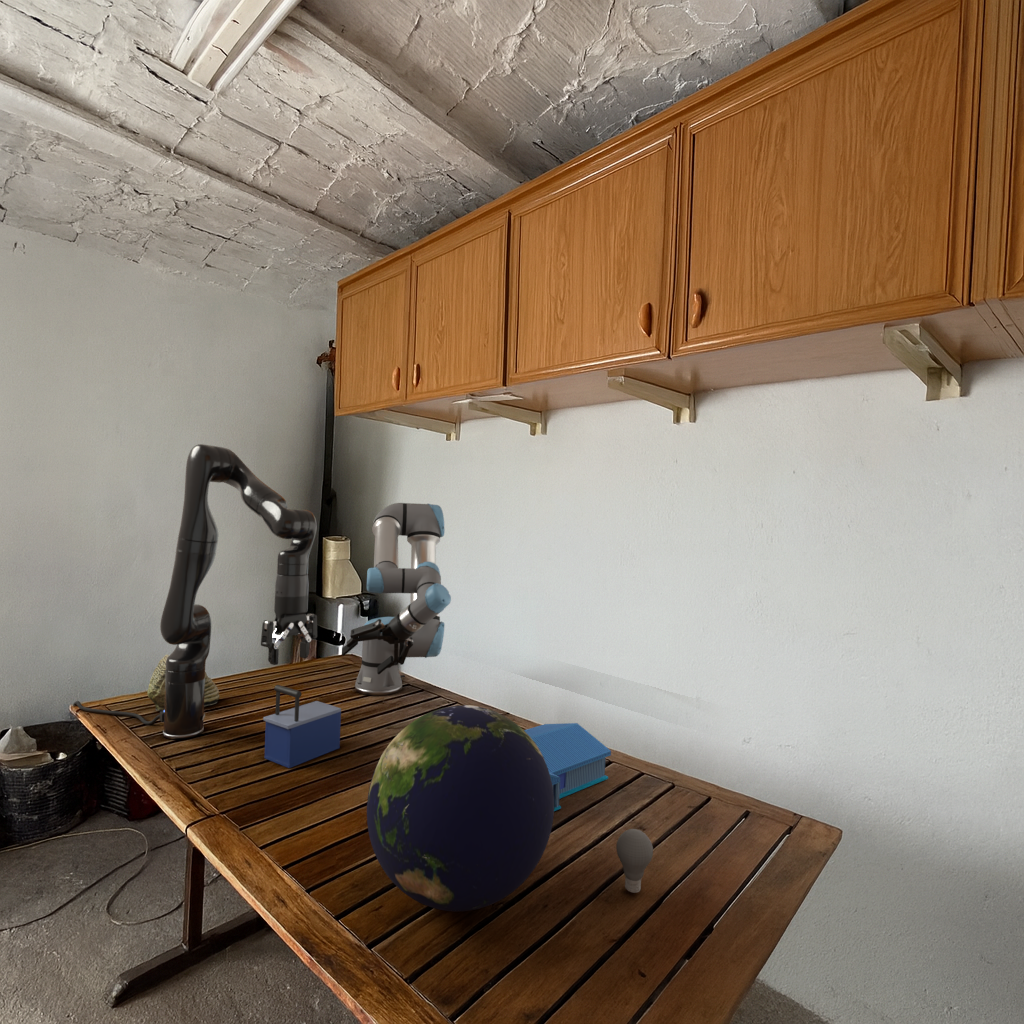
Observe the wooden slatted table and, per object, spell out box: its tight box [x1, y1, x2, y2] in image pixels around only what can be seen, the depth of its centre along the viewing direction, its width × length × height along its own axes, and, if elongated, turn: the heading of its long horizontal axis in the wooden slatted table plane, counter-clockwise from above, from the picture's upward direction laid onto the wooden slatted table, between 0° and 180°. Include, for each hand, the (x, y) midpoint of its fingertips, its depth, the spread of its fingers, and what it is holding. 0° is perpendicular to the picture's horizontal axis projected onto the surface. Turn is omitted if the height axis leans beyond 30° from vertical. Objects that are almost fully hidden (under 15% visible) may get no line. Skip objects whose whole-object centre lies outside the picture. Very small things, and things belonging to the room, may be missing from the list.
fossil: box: [147, 654, 221, 712], centre depth 185 cm, size 9×18×15 cm, turn 132°
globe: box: [366, 704, 555, 913], centre depth 102 cm, size 30×30×30 cm
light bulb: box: [615, 828, 654, 894], centre depth 106 cm, size 6×6×10 cm
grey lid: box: [262, 684, 342, 729], centre depth 155 cm, size 16×9×8 cm, turn 147°
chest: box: [264, 711, 342, 769], centre depth 156 cm, size 15×9×9 cm, turn 148°
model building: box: [523, 722, 612, 812], centre depth 142 cm, size 39×24×10 cm, turn 132°
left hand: (289, 660), depth 151 cm, fingers open, 8 cm apart
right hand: (360, 661), depth 194 cm, fingers open, 13 cm apart
